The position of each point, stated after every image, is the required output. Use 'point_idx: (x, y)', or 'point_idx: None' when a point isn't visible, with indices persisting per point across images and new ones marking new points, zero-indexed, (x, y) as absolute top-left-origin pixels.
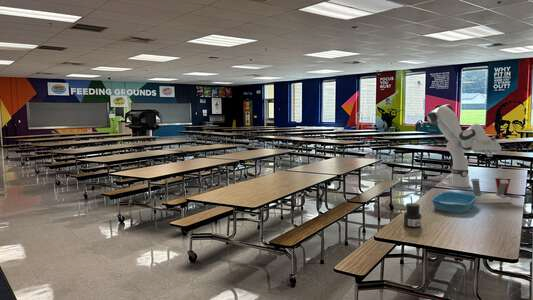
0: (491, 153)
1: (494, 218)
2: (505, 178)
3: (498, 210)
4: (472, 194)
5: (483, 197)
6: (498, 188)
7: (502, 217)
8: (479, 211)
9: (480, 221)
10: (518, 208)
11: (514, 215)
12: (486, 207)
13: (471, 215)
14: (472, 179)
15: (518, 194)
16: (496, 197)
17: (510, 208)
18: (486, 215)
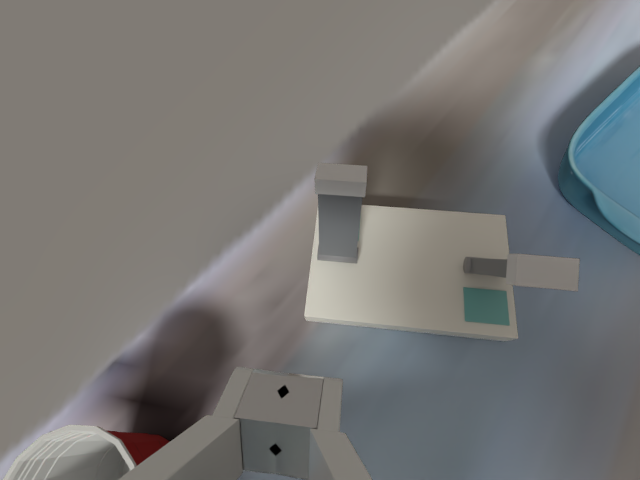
0: (221, 418)
1: (554, 29)
2: (104, 431)
3: (475, 107)
4: (492, 315)
5: (462, 236)
6: (358, 231)
7: (517, 36)
8: (568, 102)
9: (623, 9)
10: (367, 122)
11: (456, 50)
12: (501, 150)
13: (628, 62)
14: (575, 267)
15: (98, 387)
16: (385, 226)
17: (402, 126)
18: (566, 58)
